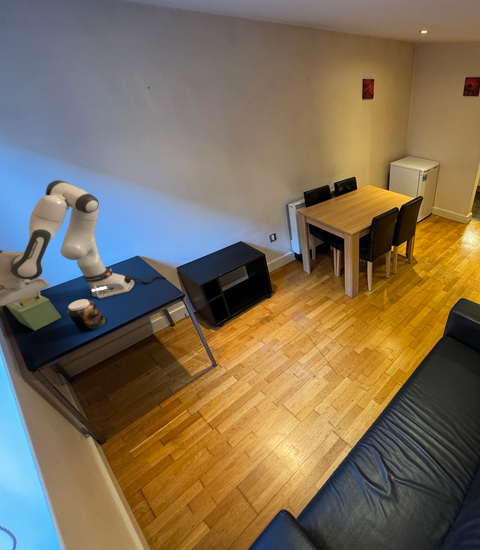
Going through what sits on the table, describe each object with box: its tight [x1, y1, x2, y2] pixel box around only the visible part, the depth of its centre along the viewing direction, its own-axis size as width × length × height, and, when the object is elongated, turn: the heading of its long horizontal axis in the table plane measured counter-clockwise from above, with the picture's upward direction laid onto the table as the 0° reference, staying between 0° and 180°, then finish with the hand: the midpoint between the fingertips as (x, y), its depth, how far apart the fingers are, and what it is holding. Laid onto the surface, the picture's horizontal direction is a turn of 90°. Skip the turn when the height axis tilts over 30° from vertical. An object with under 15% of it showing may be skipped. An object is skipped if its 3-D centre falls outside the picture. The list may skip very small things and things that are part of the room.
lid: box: [6, 292, 50, 313], centre depth 158 cm, size 16×12×5 cm
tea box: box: [5, 300, 62, 332], centre depth 163 cm, size 16×12×13 cm
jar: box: [66, 298, 106, 333], centre depth 159 cm, size 12×12×15 cm
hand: (30, 302), depth 156 cm, fingers closed on lid, 6 cm apart
